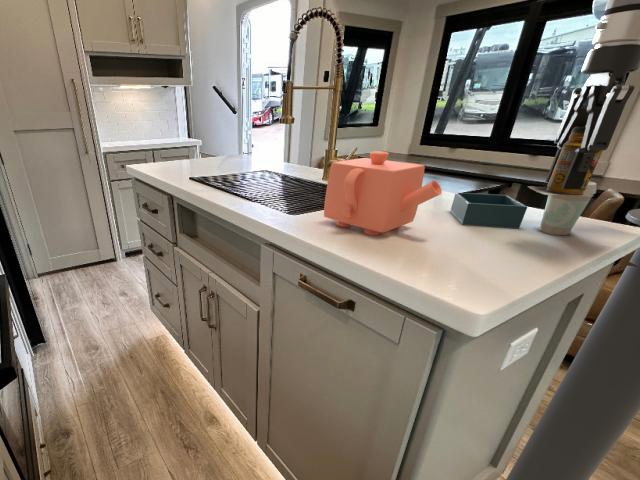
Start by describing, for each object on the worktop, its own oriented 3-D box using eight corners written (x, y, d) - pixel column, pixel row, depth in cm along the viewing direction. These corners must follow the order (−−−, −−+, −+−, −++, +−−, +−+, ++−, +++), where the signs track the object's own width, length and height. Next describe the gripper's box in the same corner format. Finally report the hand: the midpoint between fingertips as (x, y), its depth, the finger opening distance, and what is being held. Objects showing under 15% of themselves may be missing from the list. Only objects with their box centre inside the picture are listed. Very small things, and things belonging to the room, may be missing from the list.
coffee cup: (524, 227, 92) (543, 178, 86) (552, 225, 93) (572, 177, 88) (555, 238, 85) (578, 186, 79) (585, 236, 86) (610, 184, 80)
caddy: (500, 215, 102) (507, 195, 100) (519, 228, 91) (527, 206, 88) (449, 211, 105) (455, 192, 103) (461, 224, 94) (468, 203, 91)
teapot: (449, 231, 89) (471, 154, 80) (402, 252, 76) (423, 164, 68) (361, 211, 106) (372, 145, 97) (311, 225, 93) (319, 151, 84)
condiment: (594, 197, 69) (625, 128, 63) (544, 195, 71) (570, 128, 65) (571, 189, 75) (598, 125, 69) (526, 187, 77) (549, 125, 71)
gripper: (564, 53, 70) (521, 176, 81) (629, 38, 54) (563, 194, 65) (611, 51, 68) (560, 177, 79) (691, 35, 52) (613, 196, 63)
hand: (561, 185), depth 72 cm, fingers closed on condiment, 6 cm apart
